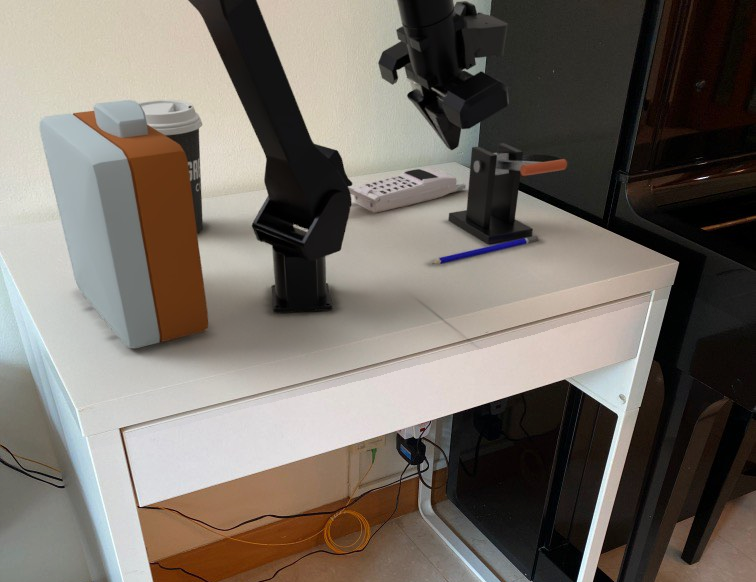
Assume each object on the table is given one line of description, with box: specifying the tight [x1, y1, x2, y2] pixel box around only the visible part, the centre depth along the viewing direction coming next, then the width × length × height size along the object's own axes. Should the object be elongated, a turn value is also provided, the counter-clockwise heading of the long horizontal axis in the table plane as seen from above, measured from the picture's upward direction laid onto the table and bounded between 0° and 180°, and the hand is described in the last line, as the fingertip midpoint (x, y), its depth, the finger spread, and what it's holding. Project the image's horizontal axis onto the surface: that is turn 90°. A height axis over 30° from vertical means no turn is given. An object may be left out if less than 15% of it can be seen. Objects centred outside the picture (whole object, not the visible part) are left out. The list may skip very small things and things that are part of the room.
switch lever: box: [492, 152, 568, 177], centre depth 98 cm, size 12×6×2 cm, turn 27°
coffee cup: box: [137, 99, 204, 235], centre depth 101 cm, size 10×10×15 cm
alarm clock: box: [39, 99, 209, 349], centre depth 79 cm, size 18×9×21 cm, turn 33°
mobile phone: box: [348, 167, 467, 214], centre depth 113 cm, size 6×6×25 cm
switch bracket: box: [448, 142, 534, 246], centre depth 104 cm, size 10×7×10 cm
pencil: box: [431, 235, 539, 265], centre depth 100 cm, size 17×1×1 cm, turn 122°
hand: (453, 147), depth 96 cm, fingers closed
